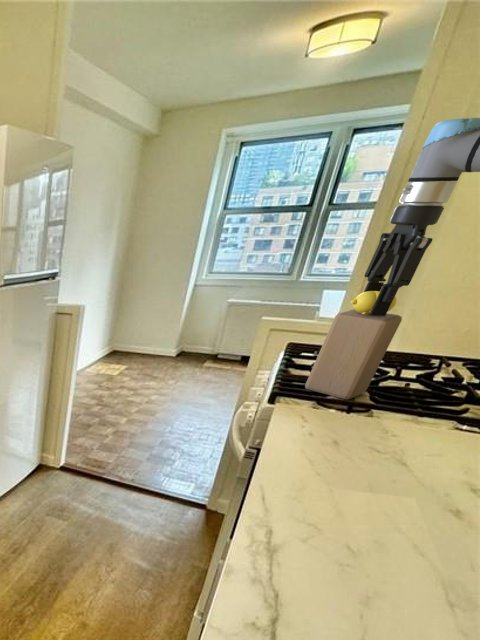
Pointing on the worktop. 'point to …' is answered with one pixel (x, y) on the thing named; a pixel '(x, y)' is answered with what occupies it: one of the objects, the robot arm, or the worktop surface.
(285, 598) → the worktop surface
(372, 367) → the block
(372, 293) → the lemon
